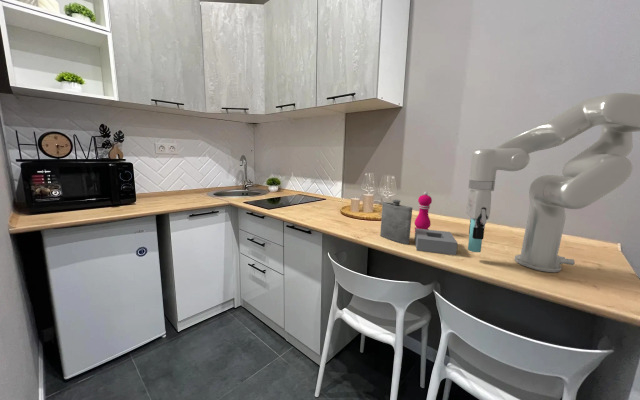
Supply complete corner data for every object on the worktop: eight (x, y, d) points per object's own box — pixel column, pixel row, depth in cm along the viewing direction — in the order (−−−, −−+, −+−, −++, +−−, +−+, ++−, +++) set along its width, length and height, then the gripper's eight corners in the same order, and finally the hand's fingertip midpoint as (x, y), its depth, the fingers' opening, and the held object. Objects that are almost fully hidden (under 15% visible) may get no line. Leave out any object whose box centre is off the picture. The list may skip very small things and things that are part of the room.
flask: (405, 245, 105) (409, 203, 101) (377, 236, 115) (380, 197, 112) (410, 243, 107) (414, 202, 103) (382, 234, 118) (385, 196, 114)
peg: (478, 248, 92) (483, 211, 89) (482, 252, 88) (487, 214, 86) (466, 247, 93) (470, 210, 91) (469, 251, 89) (473, 213, 87)
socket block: (448, 243, 109) (450, 231, 108) (455, 255, 96) (457, 242, 95) (414, 239, 113) (415, 228, 112) (416, 250, 99) (417, 238, 99)
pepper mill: (426, 230, 126) (431, 190, 122) (431, 235, 119) (436, 193, 115) (412, 229, 127) (415, 190, 123) (415, 234, 120) (420, 192, 116)
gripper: (463, 182, 95) (458, 229, 99) (476, 188, 80) (470, 243, 83) (485, 183, 93) (480, 230, 97) (503, 189, 77) (496, 245, 81)
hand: (475, 236), depth 90 cm, fingers closed on peg, 4 cm apart
